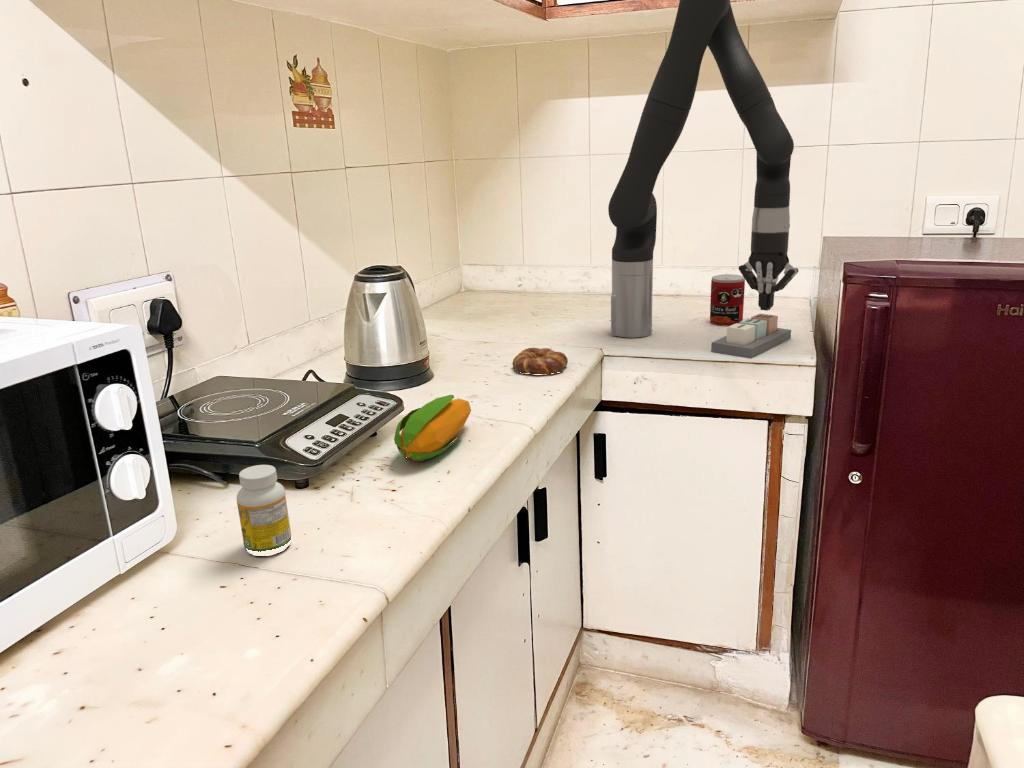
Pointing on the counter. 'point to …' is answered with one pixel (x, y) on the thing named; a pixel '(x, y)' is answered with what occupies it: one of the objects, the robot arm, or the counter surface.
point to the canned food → (727, 299)
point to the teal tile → (757, 327)
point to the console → (751, 344)
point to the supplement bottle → (262, 509)
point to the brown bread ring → (539, 361)
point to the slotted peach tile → (768, 322)
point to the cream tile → (740, 334)
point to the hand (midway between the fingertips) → (765, 309)
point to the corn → (431, 427)
